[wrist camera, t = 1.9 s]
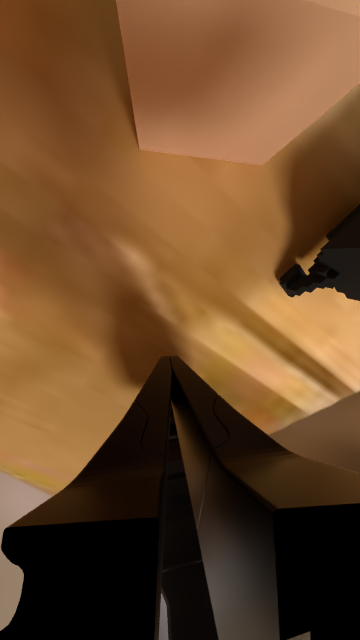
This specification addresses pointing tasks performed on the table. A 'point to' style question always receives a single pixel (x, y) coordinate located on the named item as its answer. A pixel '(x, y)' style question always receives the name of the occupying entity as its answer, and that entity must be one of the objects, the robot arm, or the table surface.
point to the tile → (236, 71)
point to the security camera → (332, 263)
